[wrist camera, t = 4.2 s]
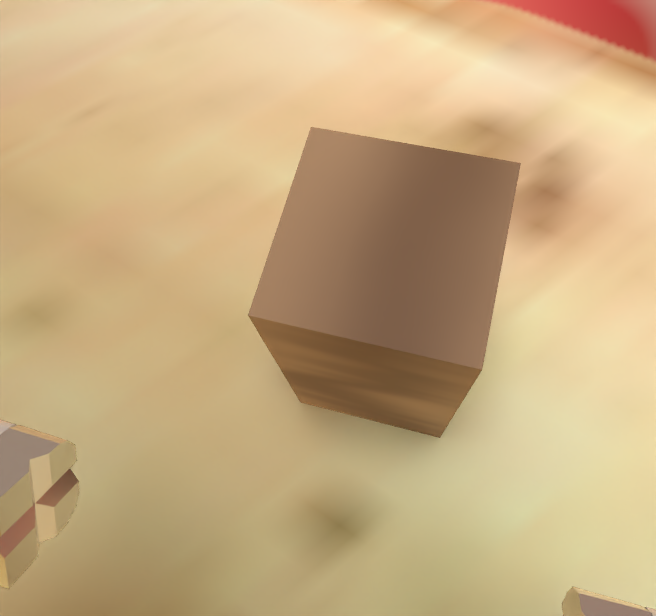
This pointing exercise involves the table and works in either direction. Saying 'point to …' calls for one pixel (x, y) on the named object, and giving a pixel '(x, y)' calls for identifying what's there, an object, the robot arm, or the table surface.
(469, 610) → the table surface
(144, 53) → the table surface
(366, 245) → the walnut block
